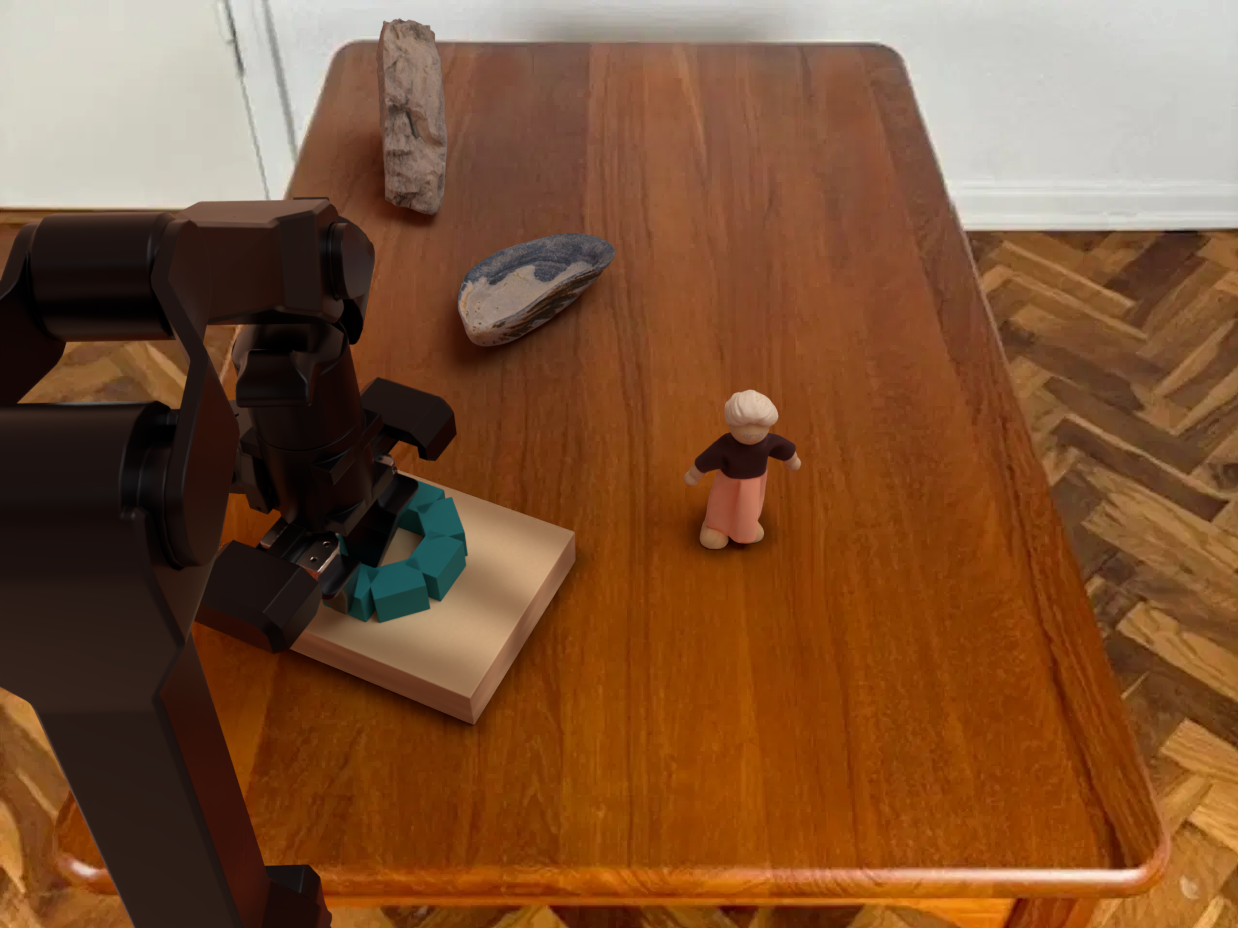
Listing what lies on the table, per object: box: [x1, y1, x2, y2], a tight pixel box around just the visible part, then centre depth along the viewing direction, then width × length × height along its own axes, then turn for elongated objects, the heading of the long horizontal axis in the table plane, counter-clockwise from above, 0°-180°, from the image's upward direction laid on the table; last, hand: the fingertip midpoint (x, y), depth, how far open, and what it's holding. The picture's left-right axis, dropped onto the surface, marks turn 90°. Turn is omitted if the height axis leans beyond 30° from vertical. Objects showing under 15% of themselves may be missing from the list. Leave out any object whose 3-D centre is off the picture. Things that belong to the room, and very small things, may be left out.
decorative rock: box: [375, 17, 448, 216], centre depth 107 cm, size 16×7×15 cm, turn 8°
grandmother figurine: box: [683, 389, 802, 550], centre depth 78 cm, size 8×4×13 cm, turn 111°
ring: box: [322, 480, 468, 623], centre depth 76 cm, size 10×10×2 cm
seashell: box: [456, 232, 616, 347], centre depth 96 cm, size 15×12×5 cm
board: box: [289, 469, 577, 726], centre depth 77 cm, size 14×18×3 cm
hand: (354, 594), depth 74 cm, fingers closed on ring, 2 cm apart
